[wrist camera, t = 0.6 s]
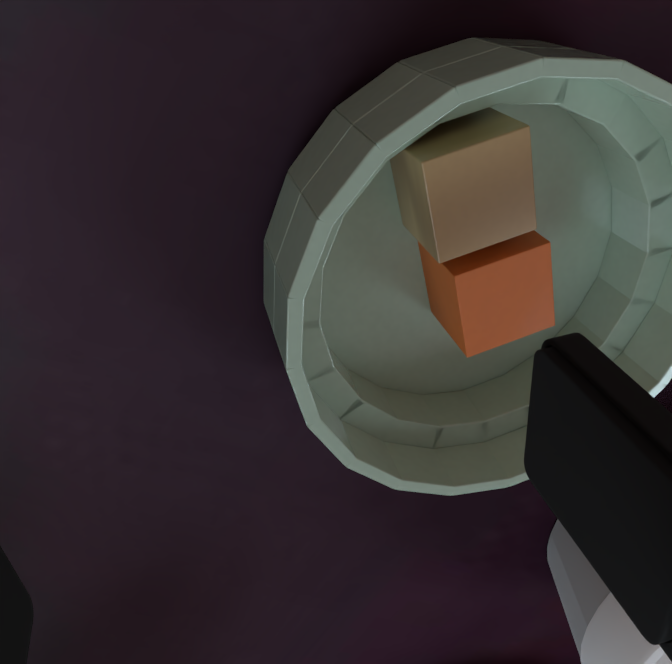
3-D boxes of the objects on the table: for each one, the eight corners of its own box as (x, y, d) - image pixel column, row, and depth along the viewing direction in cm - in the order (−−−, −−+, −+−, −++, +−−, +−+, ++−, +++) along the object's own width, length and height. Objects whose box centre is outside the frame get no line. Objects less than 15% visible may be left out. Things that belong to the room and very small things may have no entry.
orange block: (416, 236, 27) (454, 276, 24) (501, 206, 27) (551, 241, 24) (430, 312, 29) (467, 358, 26) (509, 283, 29) (555, 325, 26)
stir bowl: (196, 120, 23) (210, 167, 18) (642, -25, 25) (768, -18, 20) (321, 459, 33) (352, 548, 28) (632, 342, 35) (713, 408, 30)
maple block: (383, 133, 24) (421, 162, 21) (479, 101, 25) (530, 124, 21) (402, 225, 27) (438, 264, 23) (489, 195, 27) (538, 229, 24)
